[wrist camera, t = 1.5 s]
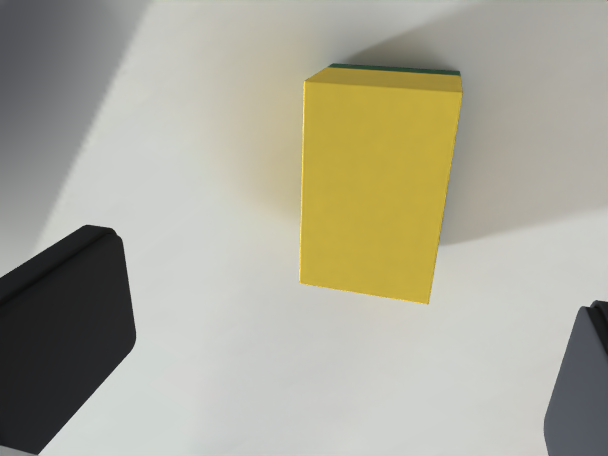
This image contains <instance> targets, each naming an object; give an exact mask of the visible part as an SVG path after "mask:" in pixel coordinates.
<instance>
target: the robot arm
mask: <svg viewBox="0 0 608 456" xmlns="http://www.w3.org/2000/svg"><path fill="white" fill-rule="evenodd" d="M135 341H136V329H135V323H134V316H133V309H132V302H131V295H130V288H129V281H128V274H127V268H126V261H125V254H124V247H123V242H122V239H121V237H119V236H117V234H116V232H115V230H113V229H112V228H107V227H100V226H93V225H85V226H83V227H81V228H79V229H78V230H76V231H75V232H73V233H71V234H70V235H68V236H67V237H65V238H63V239H62V240H60V241H59V242H57V243H55V244H54V245H52V246H51V247H49V248H47V249H46V250H44V251H43V252H41V253H39V254H38V255H36V256H35V257H33V258H31V259H30V260H28V261H27V262H25V263H23V264H22V265H20V266H19V267H17V268H15V269H14V270H12V271H11V272H9V273H7V274H6V275H4V276H3V277H1V278H0V456H38V454H39V453H40V452H41V451H42V450H43V449H44V447H45V446H46V445H47V444H48V443H49V442H50V441H51V440H52V439H53V437H54V436H55V435H56V434H57V433H58V432H59V431H60V430H61V428H62V427H63V426H64V425H65V424H66V423H67V422H68V421H69V420H70V418H71V417H72V416H73V415H74V414H75V413H76V412H77V411H78V410H79V408H80V407H81V406H82V405H83V404H84V403H85V402H86V401H87V400H88V398H89V397H90V396H91V395H92V394H93V393H94V392H95V391H96V389H97V388H98V387H99V386H100V385H101V384H102V383H103V382H104V381H105V379H106V378H107V377H108V376H109V375H110V374H111V373H112V372H113V371H114V369H115V368H116V367H117V366H118V365H119V364H120V363H121V362H122V360H123V359H124V358H125V357H126V356H127V355H128V354H129V353H130V352H131V350H132V349H133V347H134V345H135ZM544 437H545V442H546V446H547V451H548V455H549V456H608V302H605V301H598V300H596V301H594V302H593V303H592V304H591V306H590V307H585V306H582V307H581V308H580V309H579V311H578V314H577V317H576V320H575V323H574V326H573V329H572V332H571V336H570V339H569V342H568V345H567V348H566V352H565V355H564V358H563V361H562V364H561V367H560V371H559V374H558V377H557V380H556V383H555V386H554V390H553V393H552V396H551V399H550V402H549V406H548V409H547V412H546V415H545V420H544Z"/></svg>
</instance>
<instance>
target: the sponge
mask: <svg viewBox="0 0 608 456" xmlns="http://www.w3.org/2000/svg"><path fill="white" fill-rule="evenodd" d="M462 95H463V91H462V83H461V76H460V72H459V71H446V70H429V69H413V68H397V67H380V66H364V65H348V64H331V65H330V66H328V67H327V68H325V69H323V70H321V71H320V72H318V73H316V74H315V75H313V76H312V77H310V78H308V79H307V80H305V81H304V105H303V147H302V188H301V230H300V272H299V283H300V284H306V285H312V286H318V287H324V288H331V289H337V290H343V291H349V292H355V293H361V294H367V295H373V296H379V297H385V298H391V299H398V300H404V301H410V302H416V303H422V304H429V300H430V293H431V287H432V281H433V275H434V269H435V262H436V256H437V250H438V244H439V238H440V231H441V225H442V219H443V213H444V207H445V200H446V194H447V188H448V182H449V175H450V169H451V163H452V157H453V151H454V144H455V138H456V132H457V126H458V120H459V113H460V107H461V101H462Z"/></svg>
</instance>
